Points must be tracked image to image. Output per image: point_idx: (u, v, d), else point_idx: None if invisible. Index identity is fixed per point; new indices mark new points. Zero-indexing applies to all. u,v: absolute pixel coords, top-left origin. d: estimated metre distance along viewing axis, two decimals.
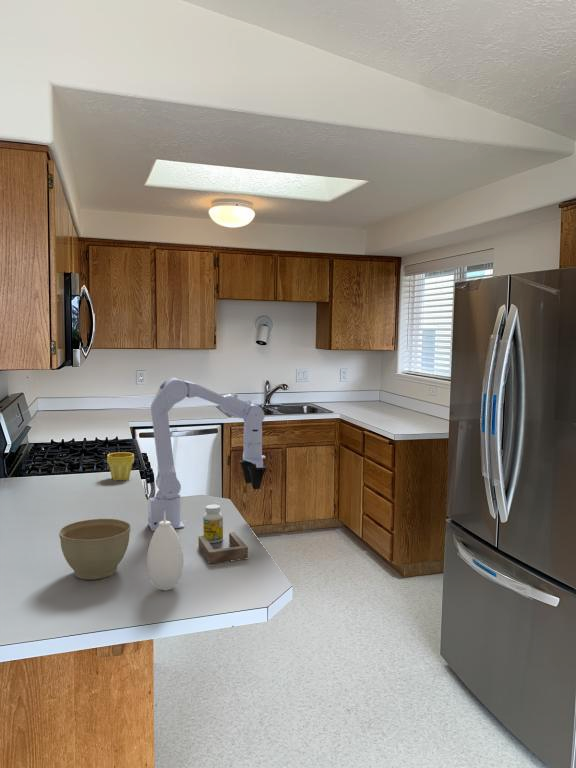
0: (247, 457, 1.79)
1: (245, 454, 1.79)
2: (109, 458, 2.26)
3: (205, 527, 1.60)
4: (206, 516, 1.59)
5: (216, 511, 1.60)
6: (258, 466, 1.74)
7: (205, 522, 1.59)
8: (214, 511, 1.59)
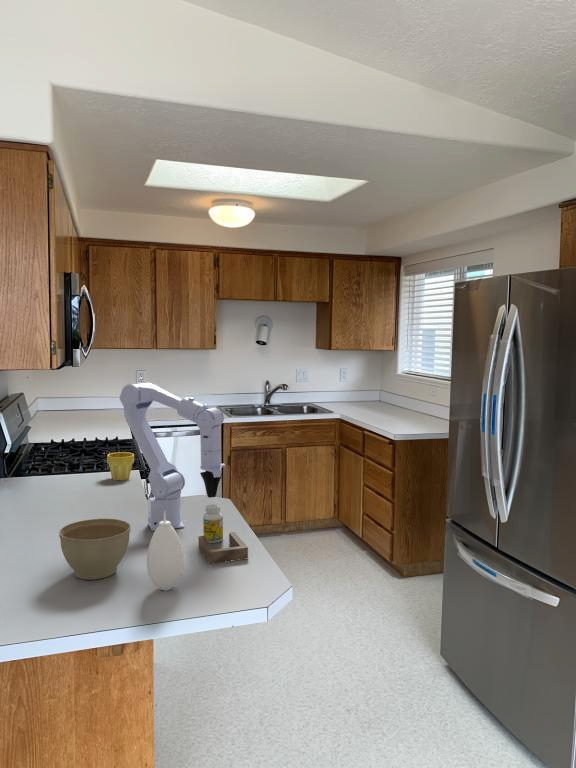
0: (204, 466, 1.65)
1: (202, 463, 1.65)
2: (109, 458, 2.26)
3: (205, 527, 1.60)
4: (206, 516, 1.59)
5: (216, 511, 1.60)
6: (215, 475, 1.60)
7: (205, 522, 1.59)
8: (214, 511, 1.59)
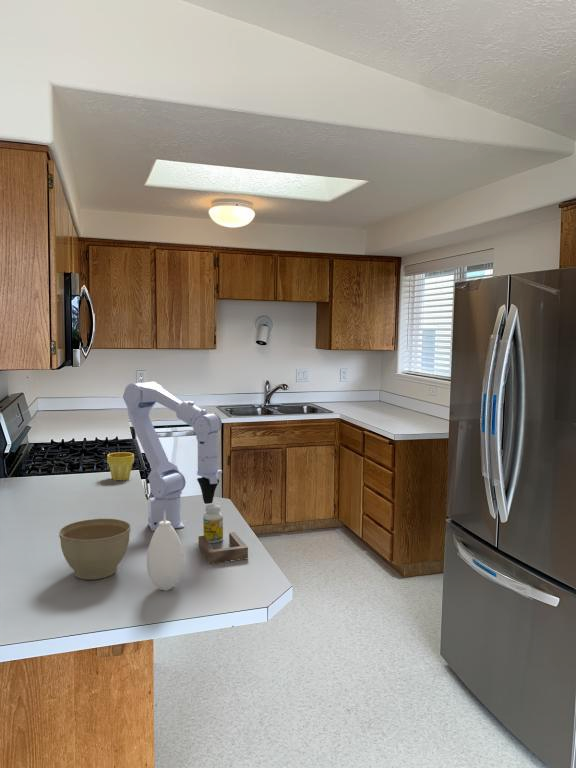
0: (201, 472, 1.63)
1: (199, 469, 1.64)
2: (109, 458, 2.26)
3: (205, 527, 1.60)
4: (206, 516, 1.59)
5: (216, 511, 1.60)
6: (212, 482, 1.59)
7: (205, 522, 1.59)
8: (214, 511, 1.59)
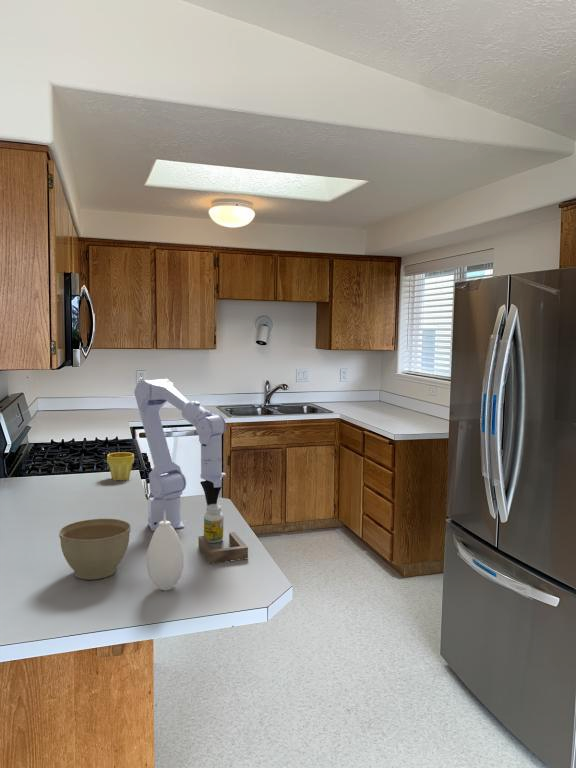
0: (204, 475, 1.59)
1: (202, 472, 1.60)
2: (109, 458, 2.26)
3: (205, 527, 1.59)
4: (207, 516, 1.59)
5: (217, 512, 1.58)
6: (216, 486, 1.55)
7: (206, 522, 1.59)
8: (215, 512, 1.58)
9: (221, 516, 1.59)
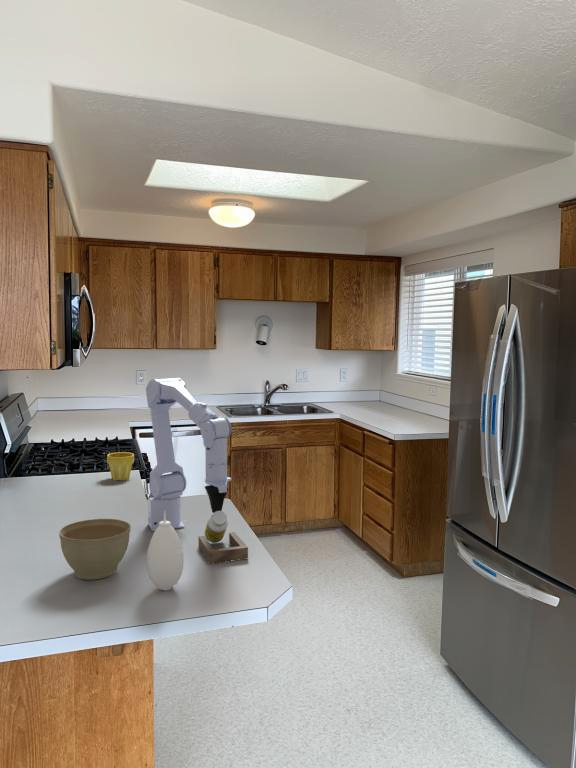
0: (209, 480, 1.54)
1: (207, 476, 1.55)
2: (109, 458, 2.26)
3: (208, 531, 1.56)
4: (211, 526, 1.54)
5: (222, 525, 1.54)
6: (221, 491, 1.50)
7: (209, 529, 1.55)
8: (220, 525, 1.54)
9: (225, 526, 1.55)
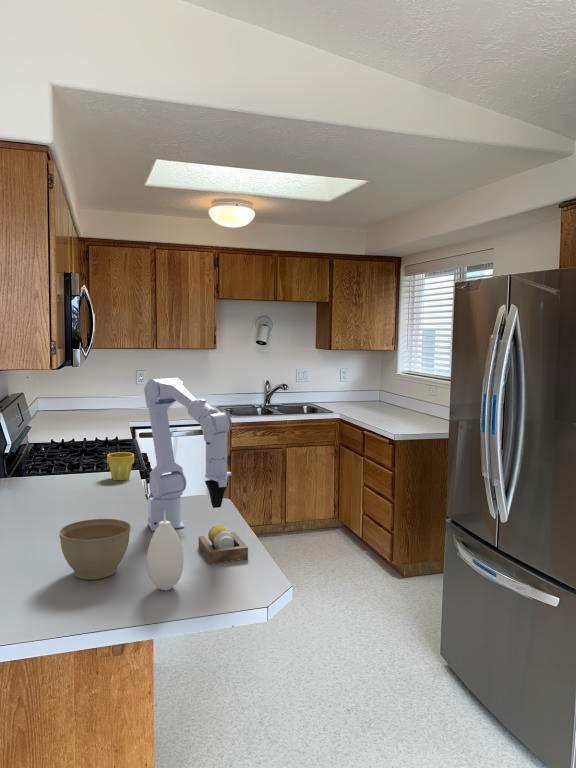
0: (209, 474, 1.55)
1: (207, 471, 1.55)
2: (109, 458, 2.26)
3: (212, 542, 1.55)
4: (216, 546, 1.52)
5: None
6: (221, 485, 1.50)
7: (213, 544, 1.53)
8: None
9: None
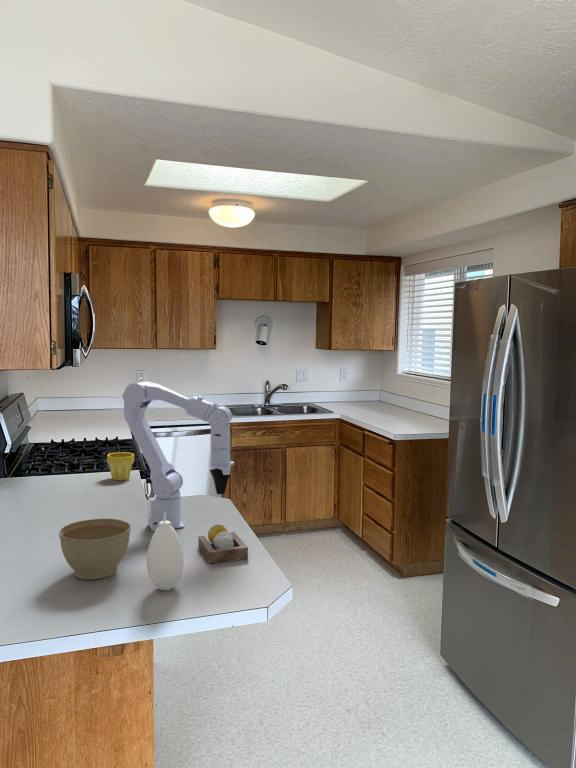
0: (214, 463, 1.68)
1: (212, 460, 1.68)
2: (109, 458, 2.26)
3: (211, 542, 1.55)
4: (216, 546, 1.52)
5: None
6: (225, 473, 1.63)
7: (213, 544, 1.53)
8: None
9: None
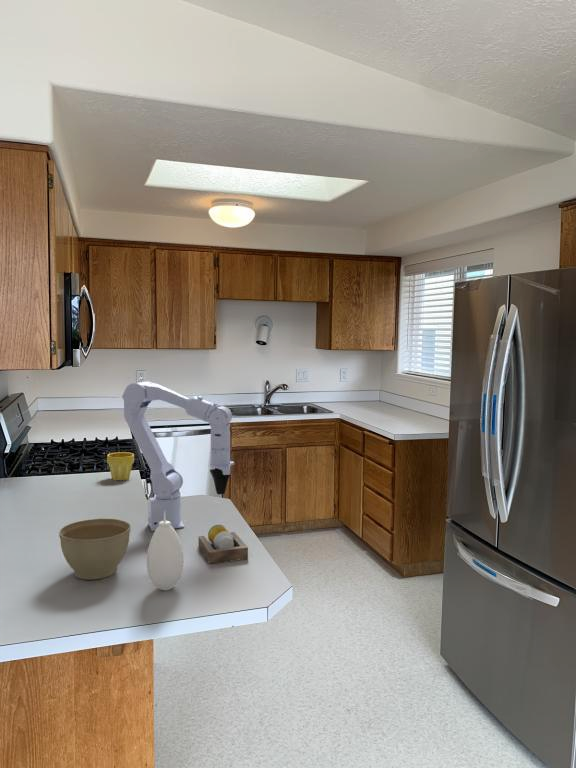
0: (214, 463, 1.68)
1: (212, 460, 1.68)
2: (109, 458, 2.26)
3: (211, 542, 1.55)
4: (216, 546, 1.52)
5: None
6: (225, 473, 1.63)
7: (213, 544, 1.53)
8: None
9: None
